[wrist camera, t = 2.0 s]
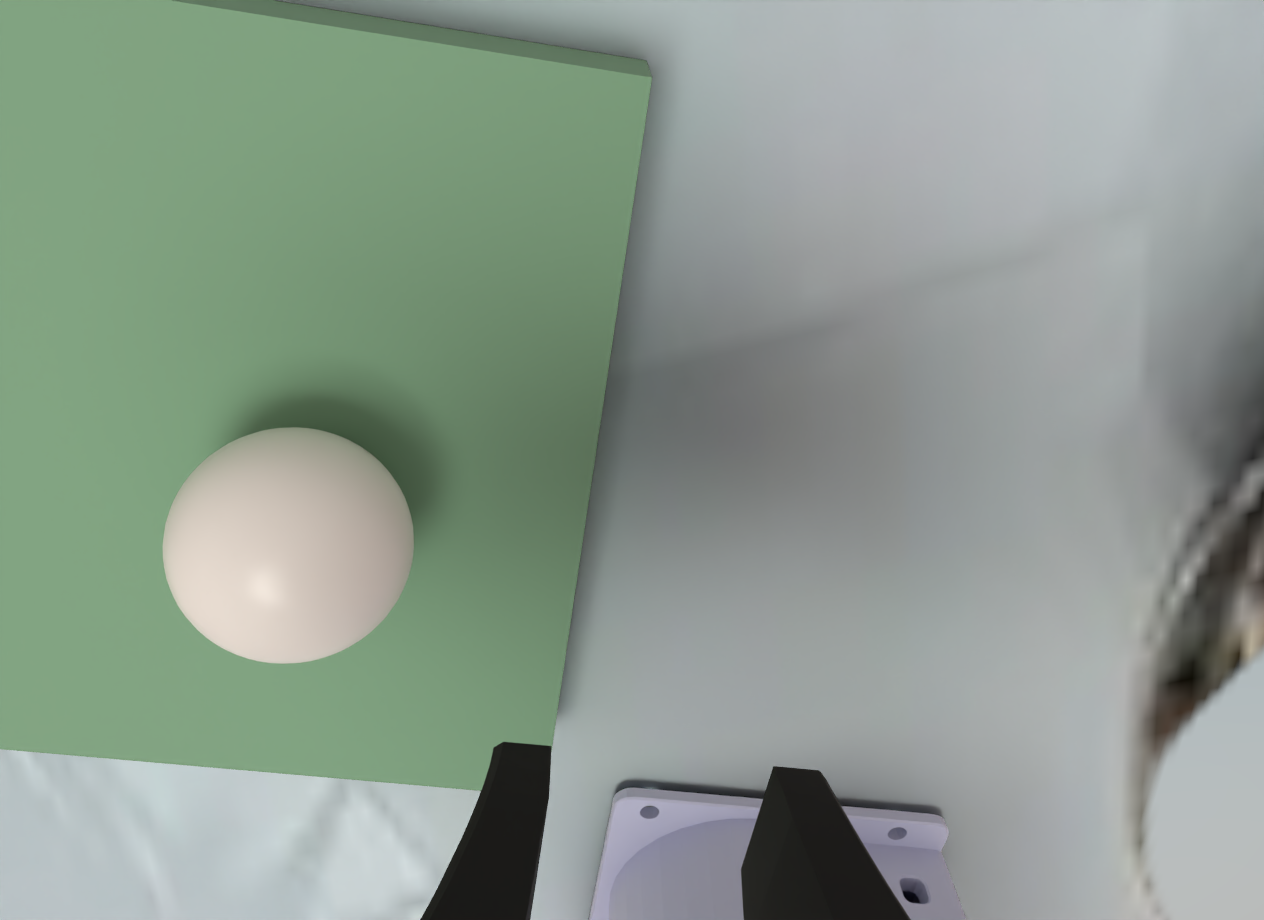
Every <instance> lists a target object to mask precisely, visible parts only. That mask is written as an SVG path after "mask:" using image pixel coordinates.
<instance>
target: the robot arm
mask: <svg viewBox="0 0 1264 920" xmlns="http://www.w3.org/2000/svg"><path fill="white" fill-rule="evenodd" d="M550 765H551V746H546V745H535V744H524V743H513V742H502V743H500V744H499V745H497V746H495V747H494V748H493V753H492V757H491V762H490V765H489V769H488V772H487V775H486V778H485V782H484V785H483V787H482V790H481V793H480V796H479V798H478V801H477V804H476V806H475V809H474V811H473V813H472V816H471V818H470V820H469V823H468V825H467V827H466V830H465V832H464V835H463V837H462V839H461V841H460V843H459V845H458V847H457V849H456V851H455V853H454V855H453V857H452V860H451V862H450V864H449V866H448V868H447V870H446V872H445V874H444V876H443V878H442V880H441V882H440V884H439V886H438V888H437V890H436V892H435V894H434V896H433V898H432V900H431V902H430V904H429V905H428V907H427V909H426V911H425V912H424V914H423V916H422V918H421V920H530V917H531V910H532V904H533V897H534V891H535V884H536V878H537V871H538V864H539V858H540V851H541V845H542V838H543V832H544V825H545V819H546V812H547V806H548V799H549V785H550ZM645 806H653V807H645ZM948 835H949V830H948V828H947V825H946V823H945V820H944V819H943V818H942V817H941V816H939V815H935V814H928V813H916V812H905V811H894V810H882V809H871V808H860V807H848V806H841V805H840V803H839V801H838V800H837V798H836V796H835V794H834V793H833V791H832V789H831V787H830V786H829V784H828V782H827V780H826V779H825V777H824V776H823V775H822V773H821V772H820V771H818V770H808V769H797V768H786V767H775V766H774V767H773V770H772V773H771V776H770V779H769V782H768V785H767V789H766V792H765V795H764V798H763V799H758V798H747V797H735V796H724V795H713V794H701V793H690V792H679V791H667V790H656V789H645V788H625V789H622V790H620V791H619V792H618V793H616V794H615V796H614V798H613V802H612V807H611V812H610V817H609V822H608V827H607V832H606V837H605V841H604V846H603V851H602V856H601V861H600V866H599V871H598V876H597V881H596V886H595V891H594V896H593V901H592V906H591V911H590V916H589V920H966V917H965V914H964V911H963V909H962V906H961V903H960V901H959V898H958V895H957V892H956V890H955V887H954V884H953V882H952V879H951V876H950V873H949V871H948V868H947V865H946V863H945V860H944V857H943V854H942V852H941V851H942V849H943V847H944V844H945V842H946V840H947V838H948Z"/></svg>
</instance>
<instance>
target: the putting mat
mask: <svg viewBox="0 0 1264 920" xmlns="http://www.w3.org/2000/svg"><path fill="white" fill-rule="evenodd" d="M651 82H652V76H651V73H650V70H649V67H648V64H647V61H645V60H639V59H633V58H627V57H621V56H615V55H608V54H602V53H596V52H590V51H584V50H577V49H571V48H565V47H559V46H553V45H547V44H540V43H534V42H528V41H522V40H516V39H510V38H503V37H497V36H491V35H485V34H479V33H472V32H466V31H460V30H454V29H448V28H442V27H435V26H429V25H423V24H417V23H411V22H405V21H398V20H392V19H386V18H380V17H374V16H367V15H361V14H355V13H349V12H343V11H337V10H330V9H324V8H318V7H312V6H306V5H299V4H293V3H287V2H281V1H275V0H0V749H5V750H17V751H28V752H40V753H51V754H63V755H74V756H86V757H97V758H109V759H121V760H132V761H144V762H155V763H167V764H178V765H190V766H201V767H213V768H224V769H236V770H248V771H259V772H271V773H282V774H294V775H305V776H317V777H328V778H340V779H351V780H363V781H375V782H386V783H398V784H409V785H421V786H432V787H444V788H455V789H467V790H478V791H481V790H482V787H483V785H484V782H485V778H486V775H487V772H488V769H489V765H490V762H491V757H492V753H493V748H494V747H495V746H497V745H499V744H500V743H502V742H513V743H524V744H535V745H546V746H551V750H552V744H553V737H554V730H555V724H556V717H557V710H558V704H559V697H560V690H561V684H562V677H563V670H564V663H565V657H566V650H567V643H568V637H569V630H570V623H571V617H572V610H573V603H574V597H575V590H576V583H577V577H578V570H579V563H580V557H581V550H582V543H583V536H584V530H585V523H586V516H587V510H588V503H589V496H590V490H591V483H592V476H593V470H594V463H595V456H596V450H597V443H598V436H599V429H600V423H601V416H602V409H603V403H604V396H605V389H606V383H607V376H608V369H609V363H610V356H611V349H612V343H613V336H614V329H615V323H616V316H617V309H618V302H619V296H620V289H621V282H622V276H623V269H624V262H625V256H626V249H627V242H628V236H629V229H630V222H631V216H632V209H633V202H634V195H635V189H636V182H637V175H638V169H639V162H640V155H641V149H642V142H643V135H644V129H645V122H646V115H647V109H648V102H649V95H650V89H651ZM290 427H299V428H311V429H317V430H322V431H326V432H329V433H332V434H336V435H338V436H341V437H343V438H345V439H348V440H350V441H352V442H353V443H355V444H357V445H359V446H361V447H362V448H363V449H365V450H366V451H368V452H369V453H371V454H372V455H373V456H374V457H375V458H376V459H378V460H379V461H380V462H381V463H382V464H383V465H384V467H385V468H386V469H387V470H388V471H389V472H390V474H391V475H392V477H393V478H394V479H395V481H396V482H397V484H398V485H399V487H400V489H401V491H402V493H403V495H404V497H405V499H406V502H407V505H408V508H409V511H410V514H411V519H412V524H413V533H414V552H413V560H412V565H411V569H410V573H409V576H408V579H407V582H406V584H405V587H404V589H403V591H402V593H401V595H400V597H399V599H398V601H397V602H396V604H395V605H394V606H393V608H392V609H391V611H390V612H389V613H388V615H387V616H386V618H385V619H384V620H383V621H382V622H381V623H380V624H379V625H378V626H377V627H376V628H375V629H374V630H373V631H371V632H370V633H369V634H368V635H367V636H365V637H364V638H363V639H361V640H360V641H358V642H356V643H355V644H353V645H351V646H350V647H348V648H346V649H344V650H343V651H340V652H338V653H335V654H333V655H330V656H327V657H324V658H321V659H317V660H313V661H309V662H302V663H287V664H279V663H266V662H259V661H255V660H251V659H247V658H244V657H241V656H238V655H236V654H233V653H231V652H229V651H227V650H225V649H223V648H221V647H219V646H218V645H216V644H214V643H213V642H212V641H210V640H209V639H207V638H206V637H205V636H204V635H203V634H201V633H200V632H199V631H198V630H197V629H196V628H195V627H194V626H193V625H192V623H191V622H190V621H189V620H188V619H187V618H186V617H185V615H184V614H183V612H182V611H181V610H180V608H179V607H178V605H177V603H176V601H175V599H174V597H173V595H172V592H171V590H170V587H169V585H168V582H167V579H166V574H165V569H164V563H163V547H162V546H163V538H164V530H165V523H166V520H167V517H168V514H169V511H170V508H171V506H172V503H173V501H174V499H175V497H176V495H177V493H178V491H179V490H180V488H181V487H182V485H183V483H184V482H185V481H186V479H187V478H188V477H189V476H190V474H191V473H192V472H193V471H194V470H195V469H196V468H197V467H198V466H199V465H200V464H201V463H202V462H203V461H204V460H205V459H206V458H207V457H209V456H210V455H211V454H213V453H214V452H216V451H217V450H219V449H220V448H222V447H223V446H225V445H227V444H228V443H230V442H232V441H234V440H236V439H239V438H241V437H244V436H246V435H249V434H253V433H256V432H259V431H263V430H268V429H274V428H290Z"/></svg>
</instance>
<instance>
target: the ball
mask: <svg viewBox="0 0 1264 920" xmlns="http://www.w3.org/2000/svg"><path fill="white" fill-rule="evenodd" d="M162 547H163V563H164V569H165V574H166V579H167V582H168V585H169V587H170V590H171V592H172V595H173V597H174V599H175V601H176V603H177V605H178V607H179V608H180V610H181V611H182V612H183V614H184V615H185V617H186V618H187V619H188V620H189V621H190V622H191V623H192V625H193V626H194V627H195V628H196V629H197V630H198V631H199V632H200V633H201V634H203V635H204V636H205V637H206V638H207V639H209V640H210V641H212V642H213V643H214V644H216V645H218V646H219V647H221V648H223V649H225V650H227V651H229V652H231V653H233V654H236V655H238V656H241V657H244V658H247V659H251V660H255V661H259V662H266V663H279V664H287V663H302V662H309V661H313V660H317V659H321V658H324V657H327V656H330V655H333V654H335V653H338V652H340V651H343V650H344V649H346V648H348V647H350V646H351V645H353V644H355V643H356V642H358V641H360V640H361V639H363V638H364V637H365V636H367V635H368V634H369V633H370V632H371V631H373V630H374V629H375V628H376V627H377V626H378V625H379V624H380V623H381V622H382V621H383V620H384V619H385V618H386V616H387V615H388V613H389V612H390V611H391V609H392V608H393V606H394V605H395V604H396V602H397V601H398V599H399V597H400V595H401V593H402V591H403V589H404V587H405V584H406V582H407V579H408V576H409V573H410V569H411V565H412V560H413V552H414V533H413V524H412V519H411V514H410V511H409V508H408V505H407V502H406V499H405V497H404V495H403V493H402V491H401V489H400V487H399V485H398V484H397V482H396V481H395V479H394V478H393V477H392V475H391V474H390V472H389V471H388V470H387V469H386V468H385V467H384V465H383V464H382V463H381V462H380V461H379V460H378V459H376V458H375V457H374V456H373V455H372V454H371V453H369V452H368V451H366V450H365V449H363V448H362V447H361V446H359V445H357V444H355V443H353V442H352V441H350V440H348V439H345V438H343V437H341V436H338V435H336V434H332V433H329V432H326V431H322V430H317V429H311V428H299V427H290V428H274V429H268V430H263V431H259V432H256V433H253V434H249V435H246V436H244V437H241V438H239V439H236V440H234V441H232V442H230V443H228V444H227V445H225V446H223V447H222V448H220V449H219V450H217V451H216V452H214V453H213V454H211V455H210V456H209V457H207V458H206V459H205V460H204V461H203V462H202V463H201V464H200V465H199V466H198V467H197V468H196V469H195V470H194V471H193V472H192V473H191V474H190V476H189V477H188V478H187V479H186V481H185V482H184V483H183V485H182V487H181V488H180V490H179V491H178V493H177V495H176V497H175V499H174V501H173V503H172V506H171V508H170V511H169V514H168V517H167V520H166V523H165V530H164V538H163V546H162Z"/></svg>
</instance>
